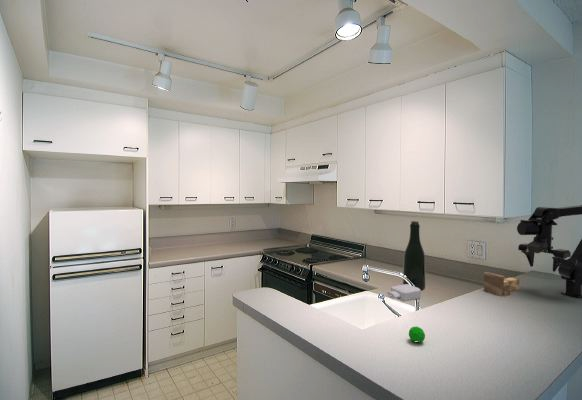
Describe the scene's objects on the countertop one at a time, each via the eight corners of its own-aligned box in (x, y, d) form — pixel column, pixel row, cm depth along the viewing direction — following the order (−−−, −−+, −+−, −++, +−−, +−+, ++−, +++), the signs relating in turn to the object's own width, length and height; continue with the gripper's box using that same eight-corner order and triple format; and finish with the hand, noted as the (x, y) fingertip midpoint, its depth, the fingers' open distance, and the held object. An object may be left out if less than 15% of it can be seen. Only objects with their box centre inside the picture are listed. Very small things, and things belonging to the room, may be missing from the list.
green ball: (405, 339, 109) (405, 325, 109) (416, 336, 111) (416, 323, 110) (416, 346, 104) (416, 332, 104) (428, 343, 106) (428, 329, 106)
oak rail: (511, 287, 161) (512, 277, 160) (519, 289, 157) (519, 279, 157) (492, 291, 155) (492, 281, 155) (499, 293, 152) (500, 283, 152)
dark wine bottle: (415, 283, 167) (416, 219, 165) (430, 290, 157) (431, 222, 155) (398, 286, 164) (399, 220, 162) (412, 292, 154) (412, 223, 152)
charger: (380, 297, 149) (406, 293, 154) (394, 304, 140) (420, 299, 146) (380, 287, 148) (406, 283, 154) (394, 293, 140) (420, 289, 146)
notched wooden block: (491, 288, 159) (491, 270, 158) (510, 294, 151) (510, 275, 150) (482, 290, 156) (483, 272, 156) (501, 296, 148) (501, 277, 148)
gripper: (511, 233, 153) (510, 266, 154) (556, 239, 136) (555, 276, 137) (526, 231, 158) (525, 263, 159) (572, 237, 141) (570, 273, 142)
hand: (542, 269), depth 149 cm, fingers open, 9 cm apart
